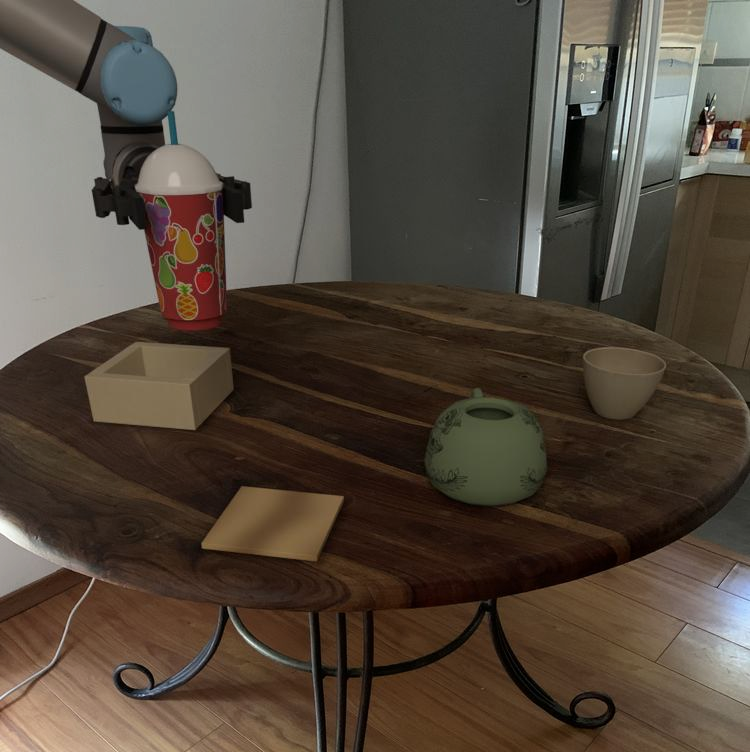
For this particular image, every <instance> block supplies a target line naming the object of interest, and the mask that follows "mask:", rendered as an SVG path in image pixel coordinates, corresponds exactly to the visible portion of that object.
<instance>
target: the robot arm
mask: <svg viewBox="0 0 750 752" xmlns="http://www.w3.org/2000/svg"><path fill="white" fill-rule="evenodd" d="M0 50H2V51H3V52H6V53H7V54H9V55H11V56H13V57H14V58H16V59H18V60H19V61H21V62H24V63H25V64H27V65H29V66H31V67H32V68H34V69H35V70H37V71H39V72H41V73H43V74H45V75H47V76H48V77H50V78H52V79H54V80H55V81H57V82H59V83H61V84H62V85H65V86H66V87H68V88H70V89H72V91H75V92H77V93H79V94H80V95H81V96H83V97H85V98H86V99H88V100H90V101H92V102H94V103H95V104H96V106H97V112H98V116H99V122H100V126H99V127H100V133H101V141H102V146H103V152H104V155H103V156H104V157H103V161H102V162H103V163H102V164H103V169H104V177H103V176H97V177H96V178H93V181H94V186H93V188H92V189H91V194H92V201H93V206H94V212H95V216H96V218H100V219H105V218H106V217H109V216H110V215H111V212H112V213H114V214H115V219H116V225H118V226H127V225H130V221H131V222H132V224H134V226H135V227H136V228H137V229H138V231H142V230H143V231H144V229H148V228H147V221H146V214H145V207H144V200H143V197H142V196H141V195H139V194H138V193H137V192H136V189H135V184H137V183H138V178H139V174H140V170H141V167H142V165H143V163H144V161H145V160H146V158H147V157H148V156H149V155H150V154H151V153H152V152H153V151H155V150H156V149H158V148H160V147H162V146H164V145H166V138H165V131H164V125H163V120H164V119H166V118H168V114H167V111H173V109H174V107H175V105H176V102H177V99H178V98H177V97H178V89H179V88H178V80H177V76H176V73H175V70H174V69H173V65H171V63H170V61H169V60H168V58H167V57H166V56H165V55H164V53H163V52H161V51H160V50H159V49H157V48H156V47H155V46H154V43H153V38H152V35H151V32H150V31H149V30H148V29H147V28H145V27H140V26H132V25H131V26H128V25H113V24H111V23H110V22H108V21H106V20H104V19H103V18H102V17H101V16H100V15H98V14H96V13H95V12H93V11H92V10H90V9H88V8H87V7H85V6H83V5H82V4H80V3H79V2H77V1H76V0H0ZM216 174H217V176H218V178H219V181H221V182H222V183H223V184H224V186H223V203H224V217H227V219H229V220H231V221H232V222H234V223H236V224H243V223H245V212H244V210H245V211H246V210H250V209H252V208H253V203H252V200H253V199H252V189H251V182H248V181H246V180H239V179H236V178H235V176H234V175H232V176H224V175H221V174H220V173H218V172H216Z"/></svg>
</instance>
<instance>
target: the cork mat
mask: <svg viewBox="0 0 750 752" xmlns="http://www.w3.org/2000/svg"><path fill="white" fill-rule="evenodd" d="M344 502H345V496H344V495H335V494H325V493H316V492H315V493H314V492H304V491H294V490H285V489H275V488H264V487H256V486H255V487H254V486H245V485H243V486H242V485H241V487H240V488H239V489H238V491H237V492H236V494H235V495H234V496H233V498H232V499H231V500H230V502H229V503H228V505H227V506H226V507H225V509H224V510H223V512H222V513H221V514H220V516H219V518H218V519H217V520H216V522H215V523H214V525H213V526H212V527H211V529H210V530H209V532H208V533H207V535H206V536H205V538H204V539H203V540H202V542H201V549H203V550H213V551H222V552H228V553H229V552H230V553H240V554H245V555H246V554H247V555H248V554H249V555H257V556H264V557H273V558H283V559H291V560H300V561H308V562H309V561H310V562H318V561H319V559H320V557H321V554H322V551H323V549H324V548H325V545H326V543H327V541H328V538H329V536H330V533H331V531H332V528H333V527H334V525H335V522H336V520H337V518H338V515H339V513H340V511H341V509H342V506H343V504H344Z"/></svg>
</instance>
